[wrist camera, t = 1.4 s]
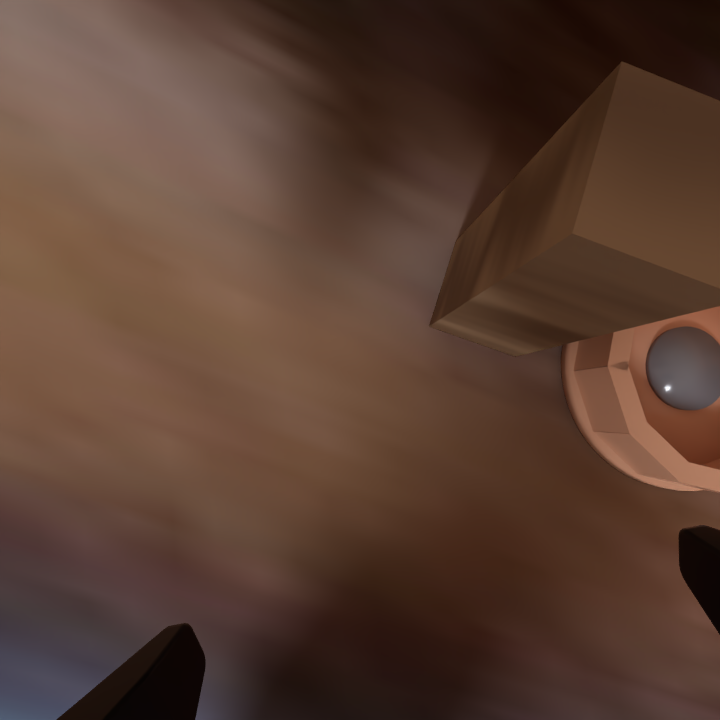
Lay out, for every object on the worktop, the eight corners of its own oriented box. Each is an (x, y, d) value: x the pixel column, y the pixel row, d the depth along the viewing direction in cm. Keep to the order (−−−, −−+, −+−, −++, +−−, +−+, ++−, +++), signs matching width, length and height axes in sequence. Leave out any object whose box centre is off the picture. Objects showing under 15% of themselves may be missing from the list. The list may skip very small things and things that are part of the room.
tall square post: (515, 356, 23) (747, 299, 11) (428, 326, 23) (571, 233, 11) (539, 271, 23) (788, 128, 11) (456, 241, 23) (621, 60, 11)
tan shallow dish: (759, 511, 23) (834, 527, 20) (540, 458, 22) (581, 467, 19) (790, 288, 25) (865, 270, 21) (583, 230, 24) (629, 202, 20)
